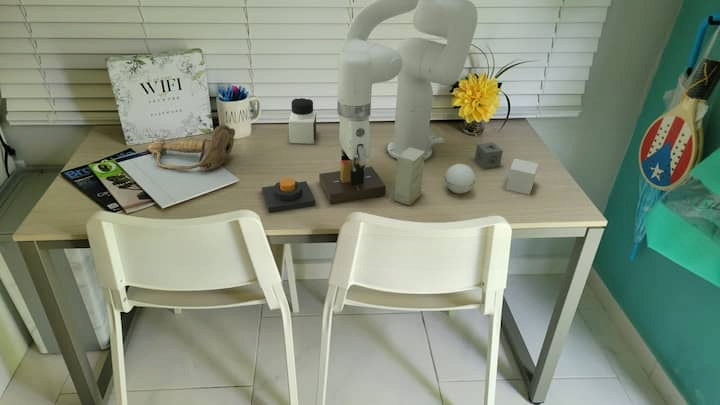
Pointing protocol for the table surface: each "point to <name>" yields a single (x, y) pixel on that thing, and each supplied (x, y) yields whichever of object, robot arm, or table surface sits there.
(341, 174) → the lock turn
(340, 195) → the plate
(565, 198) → the table surface
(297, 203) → the black knob base
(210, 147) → the sword hilt
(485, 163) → the dice cube
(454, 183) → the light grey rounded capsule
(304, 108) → the medicine bottle
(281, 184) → the bell button
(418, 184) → the cosmetic box
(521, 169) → the light grey cube
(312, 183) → the table surface
